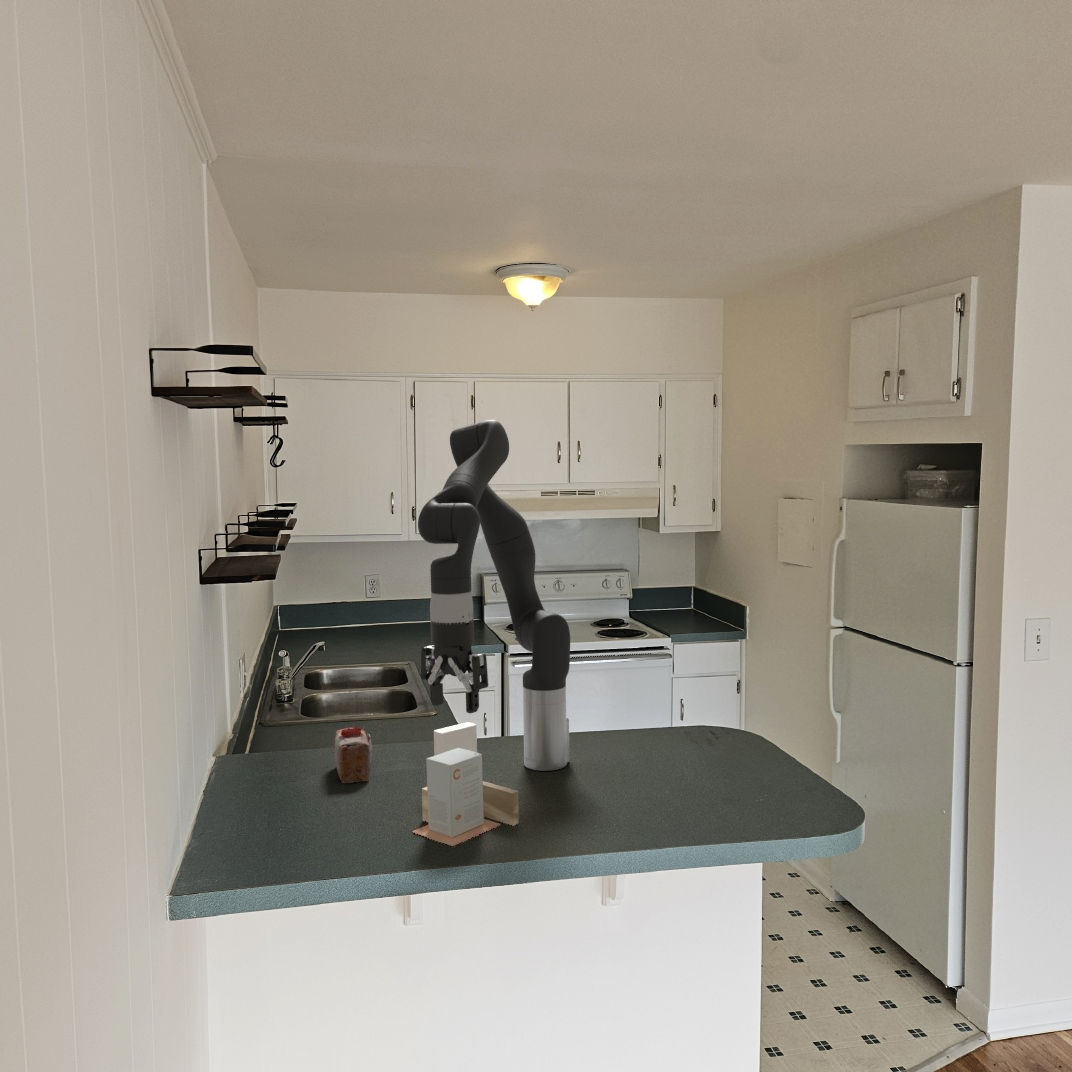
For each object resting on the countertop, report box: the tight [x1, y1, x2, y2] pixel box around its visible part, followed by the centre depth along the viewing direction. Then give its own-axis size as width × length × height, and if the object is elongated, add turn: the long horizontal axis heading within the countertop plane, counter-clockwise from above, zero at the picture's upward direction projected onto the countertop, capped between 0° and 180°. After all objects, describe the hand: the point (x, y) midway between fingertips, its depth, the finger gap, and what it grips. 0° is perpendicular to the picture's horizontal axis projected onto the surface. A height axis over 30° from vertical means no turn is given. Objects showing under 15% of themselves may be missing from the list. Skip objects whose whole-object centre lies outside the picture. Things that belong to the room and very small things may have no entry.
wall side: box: [421, 786, 428, 823], centre depth 172 cm, size 9×2×6 cm, turn 140°
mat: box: [411, 818, 501, 847], centre depth 165 cm, size 12×10×1 cm
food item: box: [333, 726, 373, 784], centre depth 197 cm, size 14×8×10 cm, turn 16°
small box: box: [425, 748, 485, 838], centre depth 165 cm, size 8×6×13 cm
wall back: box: [483, 780, 520, 827], centre depth 171 cm, size 2×14×6 cm, turn 50°
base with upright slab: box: [433, 721, 478, 756], centre depth 188 cm, size 9×9×12 cm
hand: (454, 708), depth 164 cm, fingers open, 8 cm apart
